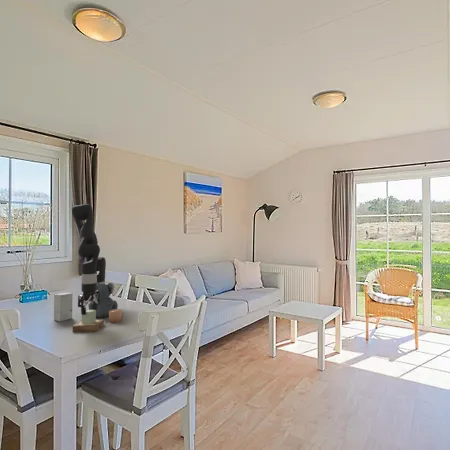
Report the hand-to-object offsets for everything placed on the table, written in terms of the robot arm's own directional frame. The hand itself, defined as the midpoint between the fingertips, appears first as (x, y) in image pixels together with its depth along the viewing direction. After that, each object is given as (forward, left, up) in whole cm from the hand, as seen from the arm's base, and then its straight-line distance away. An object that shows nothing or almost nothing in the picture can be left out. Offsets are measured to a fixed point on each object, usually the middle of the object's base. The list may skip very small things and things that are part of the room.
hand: (89, 312), depth 180 cm
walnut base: (0, 0, -8) cm, 8 cm away
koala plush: (-26, -11, -9) cm, 29 cm away
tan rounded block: (-16, +5, -8) cm, 18 cm away
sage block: (0, 0, -5) cm, 5 cm away
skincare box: (-10, -26, -8) cm, 29 cm away
